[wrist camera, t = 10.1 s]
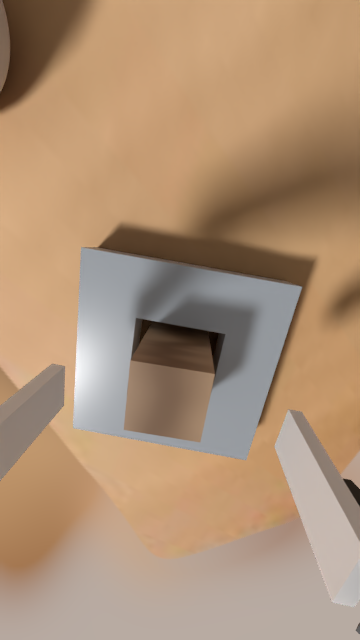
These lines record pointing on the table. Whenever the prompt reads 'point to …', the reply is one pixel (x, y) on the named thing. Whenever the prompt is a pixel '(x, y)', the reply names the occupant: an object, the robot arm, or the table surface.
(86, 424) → the housing
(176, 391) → the peg
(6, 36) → the teacup
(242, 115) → the table surface
